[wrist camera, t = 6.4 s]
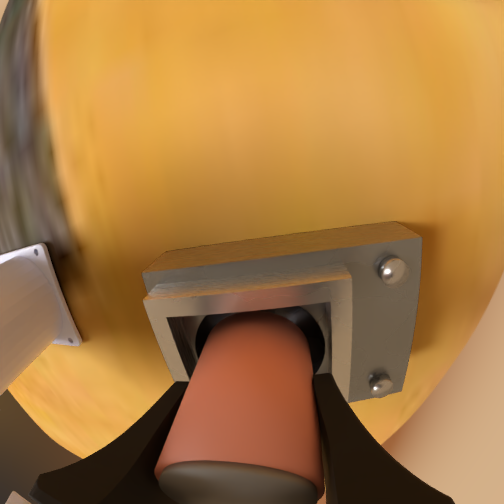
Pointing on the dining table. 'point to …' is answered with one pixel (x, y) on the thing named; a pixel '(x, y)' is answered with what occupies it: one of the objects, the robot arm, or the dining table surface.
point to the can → (247, 419)
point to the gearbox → (299, 299)
